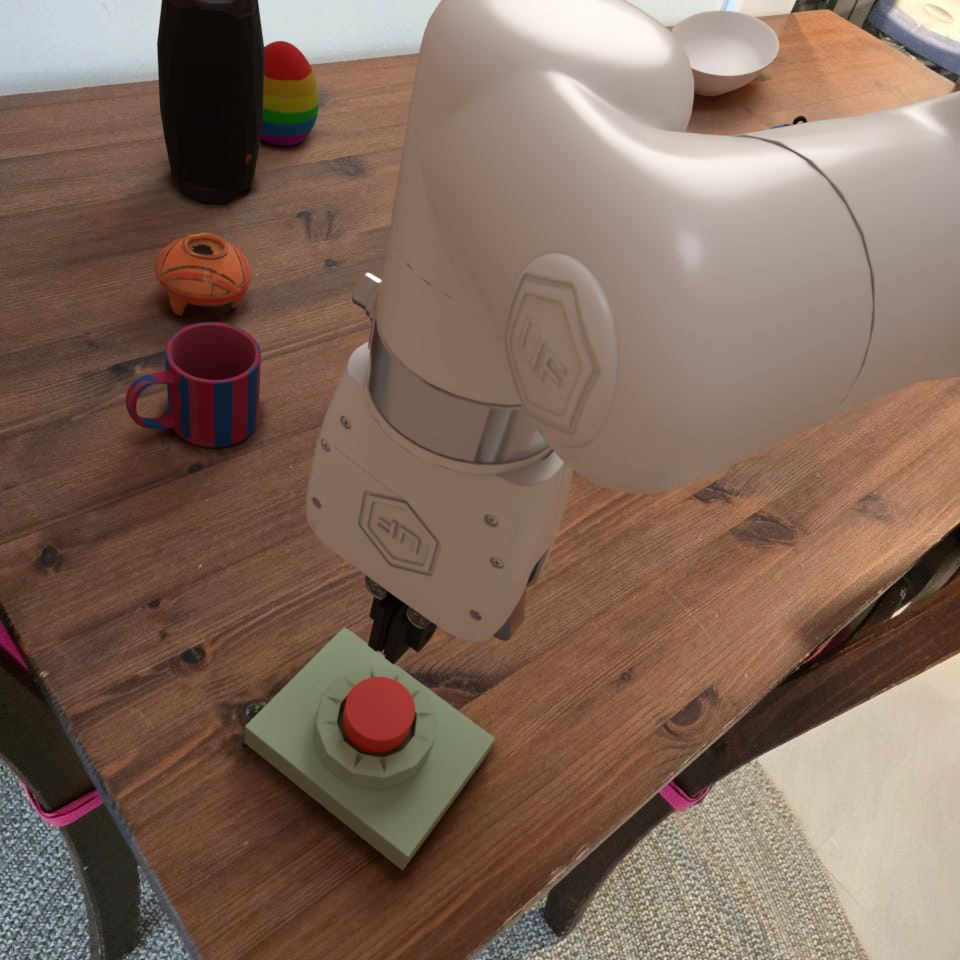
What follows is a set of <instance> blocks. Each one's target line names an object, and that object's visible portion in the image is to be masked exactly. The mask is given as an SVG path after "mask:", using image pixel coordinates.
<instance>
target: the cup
mask: <svg viewBox="0 0 960 960" xmlns="http://www.w3.org/2000/svg"><path fill="white" fill-rule="evenodd" d="M164 359H165V361H164V362H165V371H164V370H163V371H155V372H151V373H148V374H144V375H143V376H140V377H138V378H137V379H136V380H134V381H133V382H132V383H131V385H130V386H129V387H128V389H127V391H126V395H125V407H126V410H127V413H128V415H129V417H130V419H131V420H132V421H133V422H134V423H135V424H136V425H138V426H139V427H141V428H144V429H148V430H166V429H172V430H173V431H174V432H175V433H176V435H177V436H178V437H180V438H181V439H182V440H184V441H186V442H188V443H190V444H193V445H195V446H199V447H203V448H210V449H211V448H212V449H216V448H217V449H219V448H225V447H231V446H234V445H237V444H239V443H242V442H243V441H245V440H246V439H248V438H249V437H250V436H251V435H252V434H253V433H254V431H255V430H256V428H257V426H258V423H259V413H260V412H259V411H260V392H261V391H260V390H261V389H260V388H261V385H260V384H261V365H262V351H261V347H260V345H259V343H258V342H257V339H255V338H254V336H252V335H251V334H250V333H249V332H248V331H245V330H244V329H242V328H240V327H238V326H235V325H232V324H229V323H224V322H217V321H204V322H196V323H193V324H189V325H186V326H183V327H181V328H180V329H178V330H176V331H175V332H174V333H173V334H172V335H171V336H170V337H169V338H168V340H167V341H166V344H165V348H164ZM158 384H162V385H163V384H164V385H166V389H167V390H166V391H167V407H168V414H166V415H163V416H159V417H151V418H150V417H144V416H140V415H139V414H138V412H137V403H138V399H139V397H140V396H141V394H142V392H144V390H146V389H147V388H149V387H151V386H153V385H158Z"/></svg>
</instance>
